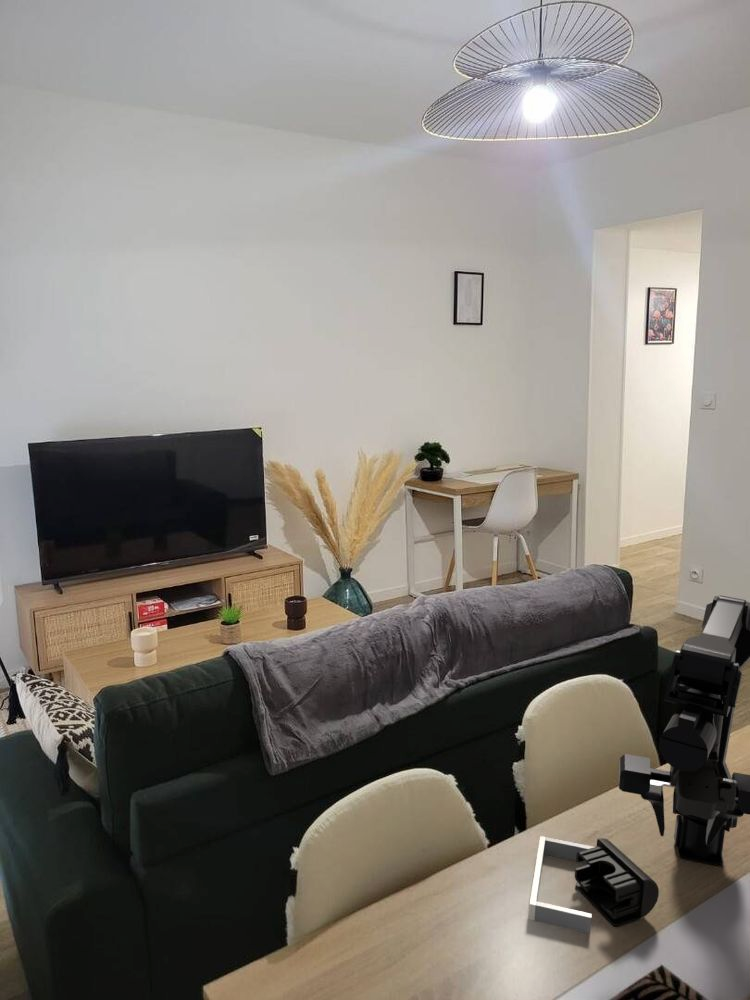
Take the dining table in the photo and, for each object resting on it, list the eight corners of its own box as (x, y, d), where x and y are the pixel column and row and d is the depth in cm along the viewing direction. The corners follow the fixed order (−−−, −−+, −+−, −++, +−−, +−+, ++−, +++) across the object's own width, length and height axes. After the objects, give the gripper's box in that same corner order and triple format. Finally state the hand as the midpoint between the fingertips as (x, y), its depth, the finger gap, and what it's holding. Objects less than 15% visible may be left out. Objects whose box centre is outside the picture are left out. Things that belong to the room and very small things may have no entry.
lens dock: (593, 861, 120) (594, 847, 120) (590, 933, 106) (591, 917, 105) (539, 849, 123) (540, 835, 122) (528, 919, 108) (529, 903, 108)
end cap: (657, 917, 109) (661, 875, 108) (616, 931, 106) (621, 888, 105) (609, 872, 118) (613, 833, 117) (571, 884, 115) (575, 844, 114)
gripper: (624, 754, 99) (613, 861, 102) (785, 781, 94) (769, 893, 97) (624, 714, 109) (614, 812, 113) (769, 737, 104) (754, 839, 107)
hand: (684, 838), depth 107 cm, fingers open, 6 cm apart
